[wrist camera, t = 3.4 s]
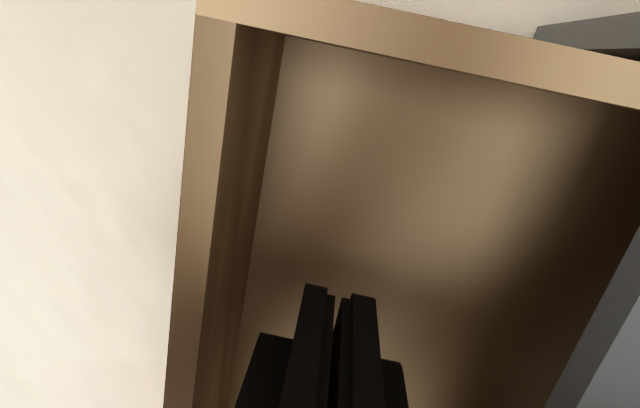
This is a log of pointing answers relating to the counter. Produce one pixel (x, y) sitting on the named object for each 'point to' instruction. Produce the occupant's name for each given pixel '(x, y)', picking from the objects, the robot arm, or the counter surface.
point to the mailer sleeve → (631, 275)
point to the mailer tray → (398, 195)
